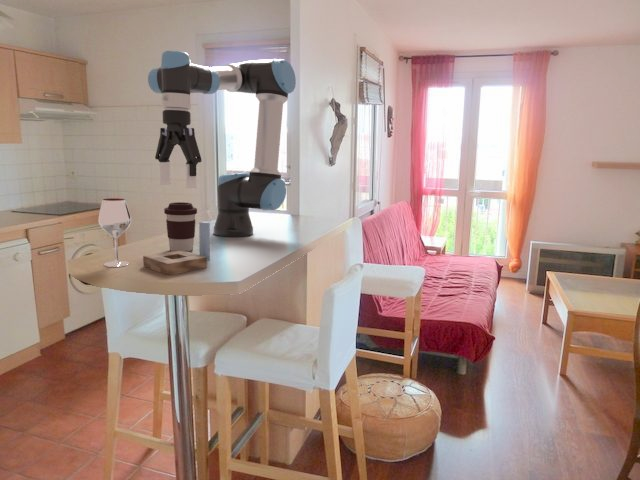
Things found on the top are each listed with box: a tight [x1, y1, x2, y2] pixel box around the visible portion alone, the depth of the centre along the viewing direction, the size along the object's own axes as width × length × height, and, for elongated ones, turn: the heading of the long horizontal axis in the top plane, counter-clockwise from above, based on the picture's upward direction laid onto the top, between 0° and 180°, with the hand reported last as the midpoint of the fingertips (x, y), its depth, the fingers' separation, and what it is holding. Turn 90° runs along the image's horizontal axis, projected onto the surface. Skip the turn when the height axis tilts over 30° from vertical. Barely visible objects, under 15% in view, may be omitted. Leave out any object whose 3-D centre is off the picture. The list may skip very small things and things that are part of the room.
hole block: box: [142, 250, 208, 276], centre depth 132 cm, size 12×12×3 cm
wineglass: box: [98, 197, 132, 268], centre depth 131 cm, size 8×8×18 cm
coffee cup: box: [163, 201, 198, 252], centre depth 153 cm, size 10×10×15 cm
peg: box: [198, 221, 211, 261], centre depth 142 cm, size 3×3×11 cm
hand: (177, 186), depth 139 cm, fingers open, 13 cm apart
